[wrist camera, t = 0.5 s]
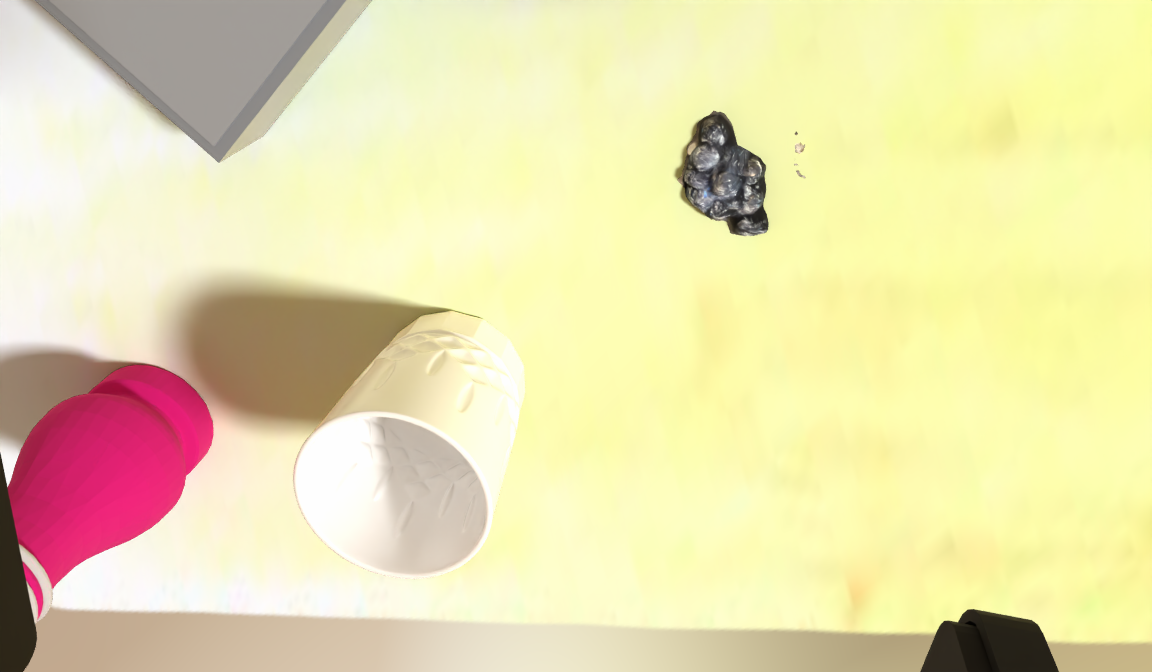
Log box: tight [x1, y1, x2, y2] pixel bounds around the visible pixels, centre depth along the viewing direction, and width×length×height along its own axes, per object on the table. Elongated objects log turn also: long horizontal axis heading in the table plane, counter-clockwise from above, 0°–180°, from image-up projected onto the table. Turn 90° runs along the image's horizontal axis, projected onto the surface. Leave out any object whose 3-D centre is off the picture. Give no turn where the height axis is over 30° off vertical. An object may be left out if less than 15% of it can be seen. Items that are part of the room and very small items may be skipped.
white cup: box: [293, 311, 525, 579], centre depth 40 cm, size 8×8×10 cm
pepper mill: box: [8, 365, 213, 624], centre depth 40 cm, size 7×7×20 cm
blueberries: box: [677, 111, 806, 236], centre depth 38 cm, size 7×8×2 cm
